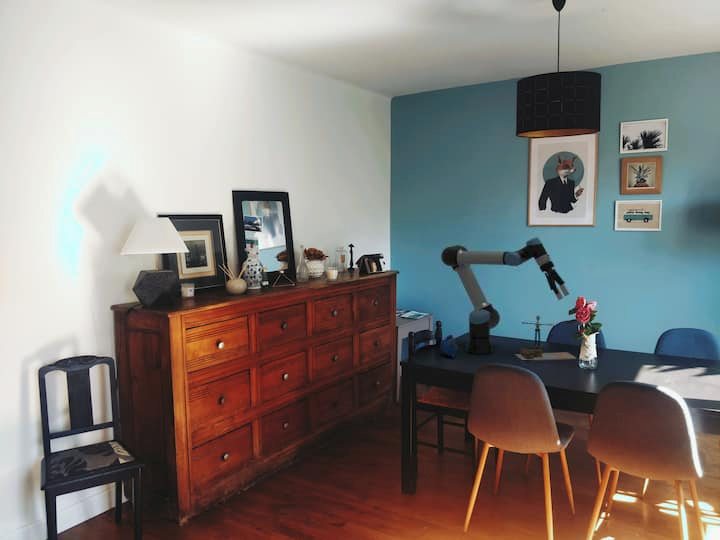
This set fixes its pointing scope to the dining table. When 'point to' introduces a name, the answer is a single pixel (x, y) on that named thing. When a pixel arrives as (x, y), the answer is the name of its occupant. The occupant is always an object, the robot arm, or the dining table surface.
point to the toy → (449, 346)
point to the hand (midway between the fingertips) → (564, 297)
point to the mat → (550, 356)
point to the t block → (531, 353)
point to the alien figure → (537, 331)
